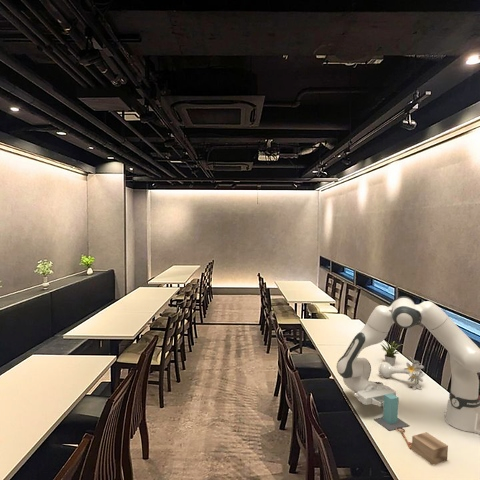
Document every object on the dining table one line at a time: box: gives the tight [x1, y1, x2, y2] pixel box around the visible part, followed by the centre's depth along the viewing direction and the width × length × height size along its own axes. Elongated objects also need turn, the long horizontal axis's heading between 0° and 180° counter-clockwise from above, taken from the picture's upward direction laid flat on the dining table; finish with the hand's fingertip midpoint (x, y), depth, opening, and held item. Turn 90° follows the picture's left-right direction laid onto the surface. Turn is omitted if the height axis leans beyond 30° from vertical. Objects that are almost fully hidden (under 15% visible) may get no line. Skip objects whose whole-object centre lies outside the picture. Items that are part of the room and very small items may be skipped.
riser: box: [411, 432, 449, 466], centre depth 149 cm, size 8×10×6 cm
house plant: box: [380, 339, 404, 367], centre depth 246 cm, size 14×14×16 cm
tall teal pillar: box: [382, 394, 400, 424], centre depth 174 cm, size 4×4×12 cm
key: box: [396, 427, 412, 450], centre depth 160 cm, size 6×1×15 cm
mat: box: [373, 416, 410, 432], centre depth 173 cm, size 12×10×1 cm
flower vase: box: [377, 356, 425, 391], centre depth 219 cm, size 13×18×25 cm
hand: (388, 403), depth 174 cm, fingers open, 8 cm apart
